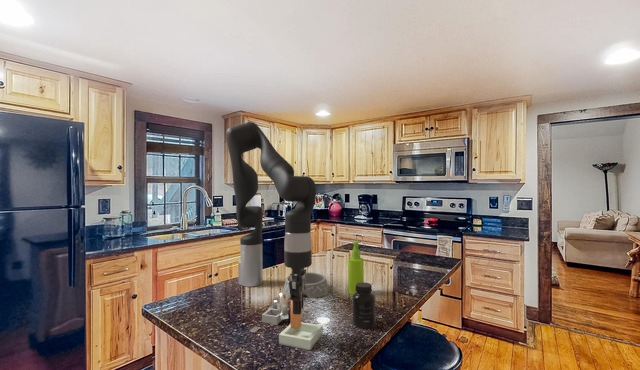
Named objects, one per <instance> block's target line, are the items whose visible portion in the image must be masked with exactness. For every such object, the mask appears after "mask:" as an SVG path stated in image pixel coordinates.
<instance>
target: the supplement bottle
mask: <svg viewBox="0 0 640 370" xmlns="http://www.w3.org/2000/svg"><path fill="white" fill-rule="evenodd" d="M372 288H373V287H372V284H371V283H370V282H365V281H364V282H360V283H357V284H356V292H355V293H354V294H353V295H352V324H353V325H354V326H355V327H356V328H359V329H363V330H365V329H372V328H373V327H375V325H376V297H375V294H374V293H372V292H373V289H372Z"/></svg>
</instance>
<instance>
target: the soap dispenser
mask: <svg viewBox="0 0 640 370" xmlns="http://www.w3.org/2000/svg"><path fill="white" fill-rule="evenodd" d="M360 243H362V241H361V240H354V241H353V242H352V245H353V249H351V257H349V258H348V265H347V266H348V269H347V270H348V294H349V295H352V294H354V293H355V292H356V284H357V283H360V282H365V280H364V275H365V274H364V267H365V266H364V258H362V257H361V249H359V244H360Z"/></svg>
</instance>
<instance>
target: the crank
mask: <svg viewBox="0 0 640 370" xmlns="http://www.w3.org/2000/svg"><path fill="white" fill-rule="evenodd" d="M288 299H289V296H288V293H287V292H283V291H281V292H279V297H274V298H273V299H272V305H273V308H274V309H278V312H279V315H280V318H281V319H283V320H288V319H289V312H288V306H289V304H288V302H289V301H288Z"/></svg>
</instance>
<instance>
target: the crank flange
mask: <svg viewBox="0 0 640 370" xmlns="http://www.w3.org/2000/svg"><path fill="white" fill-rule="evenodd" d="M270 308H271V309H274V308H273V304H272V305H269V307H267V310H269V309H270ZM289 312H290V306H289V305H288V313H289ZM260 329H261V327H260V326H256V325H255V326H254V327H252V328H251V329H250V330H249V332H251V333H256V332H257V331H259V330H260Z"/></svg>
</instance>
